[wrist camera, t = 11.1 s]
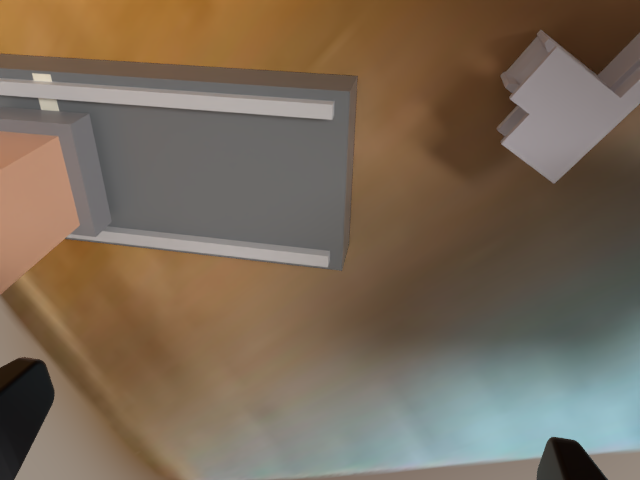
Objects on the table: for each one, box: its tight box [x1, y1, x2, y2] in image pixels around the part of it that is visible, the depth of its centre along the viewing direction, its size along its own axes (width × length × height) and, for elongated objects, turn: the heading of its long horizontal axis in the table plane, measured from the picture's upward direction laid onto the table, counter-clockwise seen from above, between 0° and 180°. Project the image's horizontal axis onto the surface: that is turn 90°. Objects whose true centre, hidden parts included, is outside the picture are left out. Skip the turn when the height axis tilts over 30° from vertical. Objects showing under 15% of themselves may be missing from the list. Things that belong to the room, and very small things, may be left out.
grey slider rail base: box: [0, 54, 358, 271], centre depth 21 cm, size 20×7×2 cm, turn 89°
